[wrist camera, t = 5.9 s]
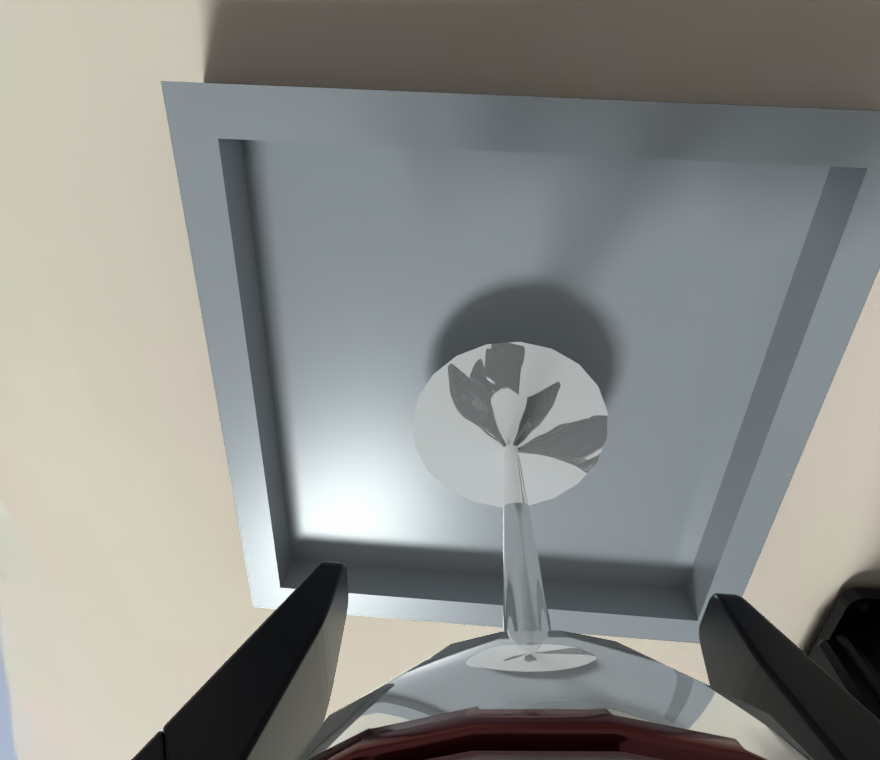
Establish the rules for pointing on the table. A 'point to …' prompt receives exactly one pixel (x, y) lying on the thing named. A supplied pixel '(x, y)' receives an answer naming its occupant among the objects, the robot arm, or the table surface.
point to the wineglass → (533, 604)
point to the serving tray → (520, 328)
